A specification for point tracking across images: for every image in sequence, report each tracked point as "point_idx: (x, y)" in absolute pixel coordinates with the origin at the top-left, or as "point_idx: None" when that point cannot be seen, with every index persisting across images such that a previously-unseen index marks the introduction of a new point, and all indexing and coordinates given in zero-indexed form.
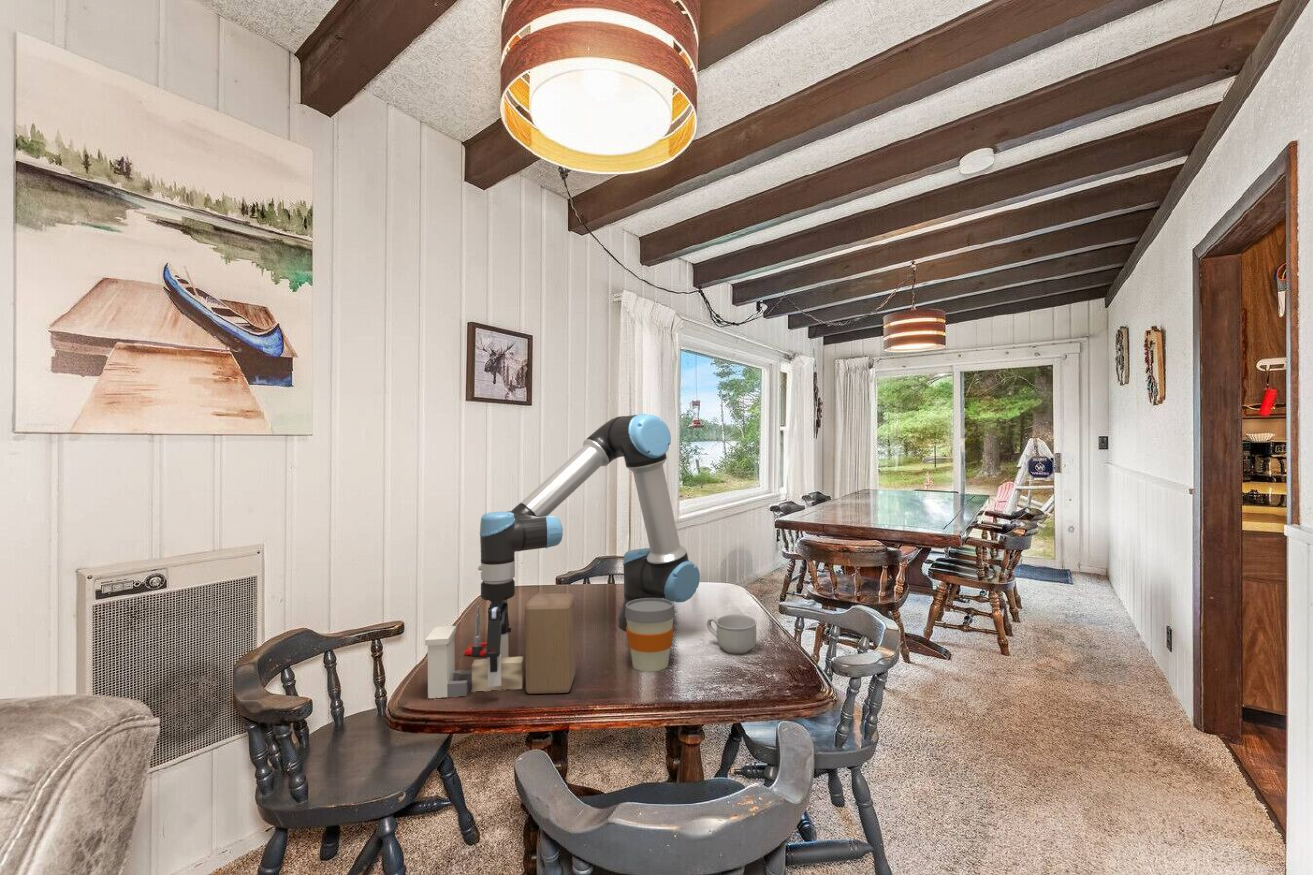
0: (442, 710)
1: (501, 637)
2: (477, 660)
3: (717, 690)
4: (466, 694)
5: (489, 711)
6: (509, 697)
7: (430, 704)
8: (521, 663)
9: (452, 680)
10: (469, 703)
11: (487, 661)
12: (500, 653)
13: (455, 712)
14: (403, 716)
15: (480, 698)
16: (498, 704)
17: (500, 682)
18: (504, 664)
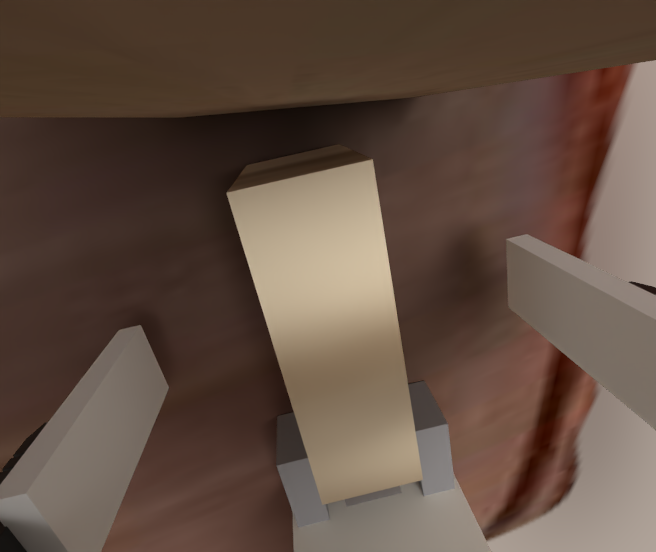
0: (536, 409)
1: (76, 516)
2: (338, 483)
3: None
4: (422, 385)
5: (583, 227)
6: (447, 181)
7: (480, 466)
8: (372, 161)
9: None
10: (490, 341)
11: (356, 423)
12: (140, 406)
13: (562, 359)
14: (557, 497)
15: (446, 316)
16: (519, 210)
17: (536, 241)
18: (392, 295)
